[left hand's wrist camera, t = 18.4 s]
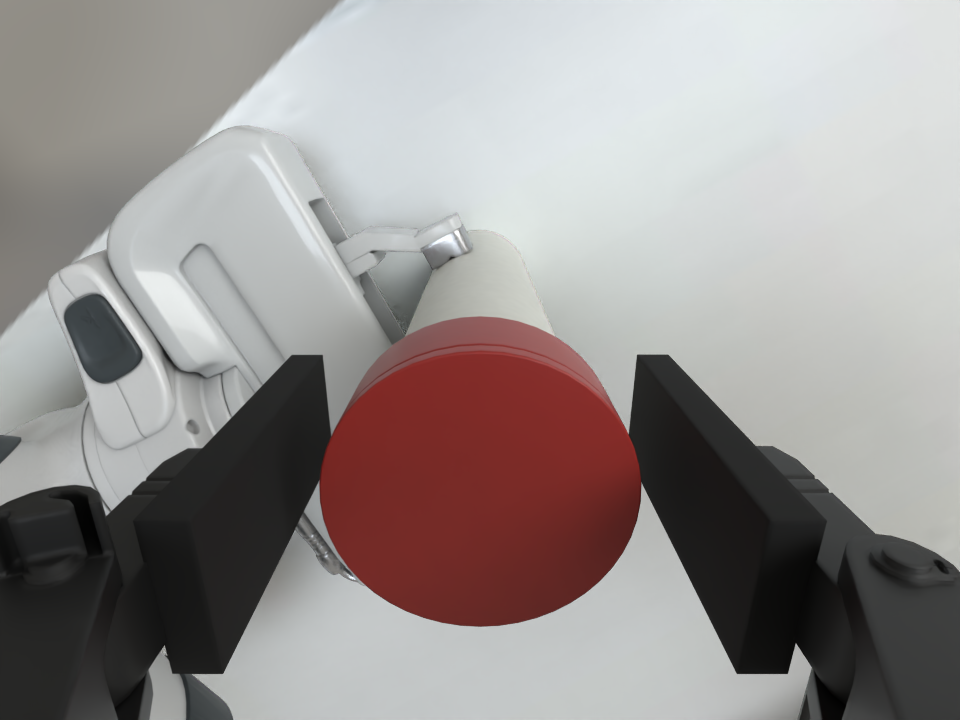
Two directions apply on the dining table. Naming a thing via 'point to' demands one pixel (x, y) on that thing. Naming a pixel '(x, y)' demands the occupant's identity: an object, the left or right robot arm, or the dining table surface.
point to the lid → (480, 475)
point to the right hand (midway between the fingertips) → (498, 296)
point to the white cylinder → (482, 286)
